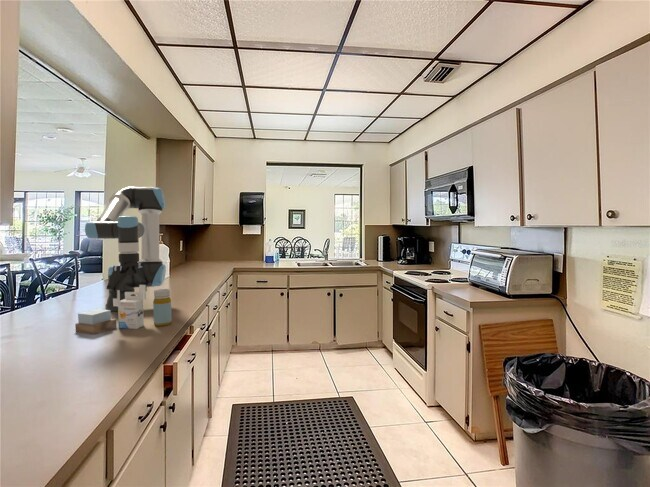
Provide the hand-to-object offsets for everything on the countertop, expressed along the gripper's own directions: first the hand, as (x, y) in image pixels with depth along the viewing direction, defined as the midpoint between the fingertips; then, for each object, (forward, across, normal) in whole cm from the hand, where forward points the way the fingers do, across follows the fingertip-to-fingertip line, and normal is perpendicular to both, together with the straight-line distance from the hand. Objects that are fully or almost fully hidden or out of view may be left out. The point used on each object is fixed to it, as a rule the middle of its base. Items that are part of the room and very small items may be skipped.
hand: (130, 302), depth 144 cm
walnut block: (+11, +6, -11) cm, 17 cm away
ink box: (+11, 0, 0) cm, 11 cm away
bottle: (+11, -8, +10) cm, 16 cm away
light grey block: (+7, +7, -12) cm, 15 cm away
